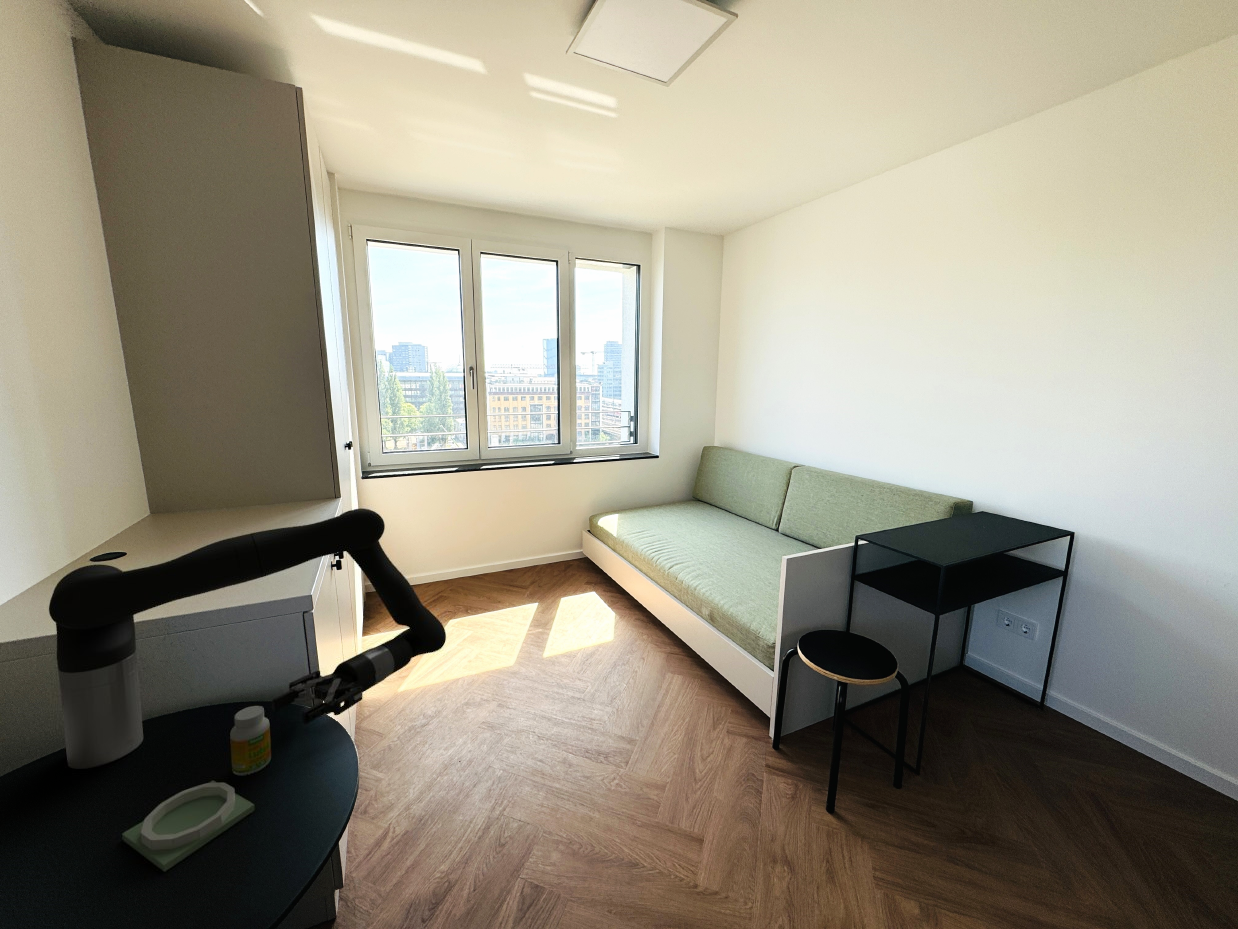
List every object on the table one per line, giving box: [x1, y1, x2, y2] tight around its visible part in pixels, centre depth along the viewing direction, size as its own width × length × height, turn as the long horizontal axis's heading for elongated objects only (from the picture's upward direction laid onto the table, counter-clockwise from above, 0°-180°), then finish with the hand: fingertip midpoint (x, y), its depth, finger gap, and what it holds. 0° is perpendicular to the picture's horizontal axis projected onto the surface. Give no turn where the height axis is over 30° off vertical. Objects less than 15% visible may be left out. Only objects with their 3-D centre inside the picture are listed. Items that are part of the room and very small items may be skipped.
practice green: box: [121, 780, 255, 873], centre depth 71 cm, size 11×11×2 cm
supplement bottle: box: [229, 705, 272, 776], centre depth 83 cm, size 5×5×10 cm
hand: (287, 712), depth 88 cm, fingers open, 8 cm apart
